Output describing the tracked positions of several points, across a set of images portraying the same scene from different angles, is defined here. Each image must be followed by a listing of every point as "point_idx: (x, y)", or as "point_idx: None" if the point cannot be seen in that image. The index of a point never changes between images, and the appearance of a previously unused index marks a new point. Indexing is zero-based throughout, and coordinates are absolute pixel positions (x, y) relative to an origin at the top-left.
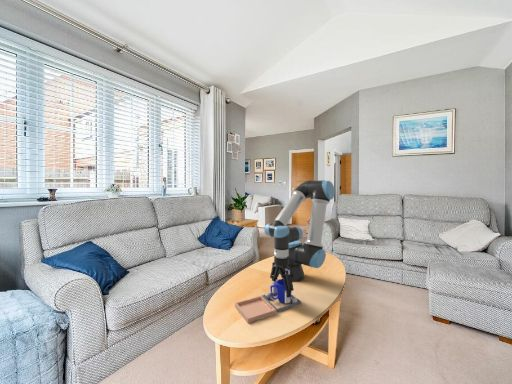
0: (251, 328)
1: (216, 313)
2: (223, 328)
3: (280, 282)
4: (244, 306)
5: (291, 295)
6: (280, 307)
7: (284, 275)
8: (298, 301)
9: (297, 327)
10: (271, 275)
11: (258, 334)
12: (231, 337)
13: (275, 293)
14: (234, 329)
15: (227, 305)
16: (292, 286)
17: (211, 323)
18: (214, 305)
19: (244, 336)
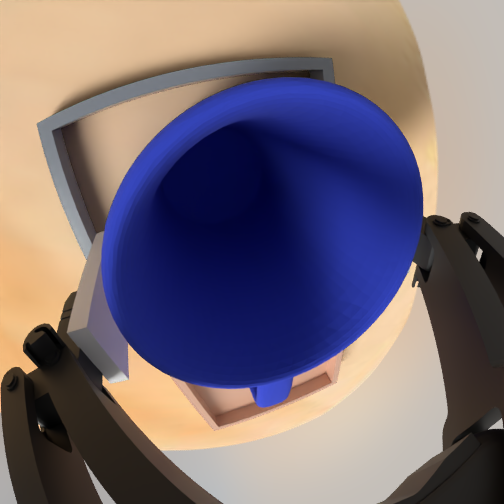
0: (355, 357)
1: (237, 436)
2: (313, 408)
3: (153, 293)
4: (227, 398)
5: (190, 82)
6: None
7: (496, 413)
8: (303, 69)
9: (435, 210)
10: (74, 451)
11: (384, 337)
12: (352, 386)
13: (91, 234)
14: (331, 390)
15: (195, 429)
16: (498, 242)
17: (279, 430)
18: (188, 446)
19: (367, 365)
